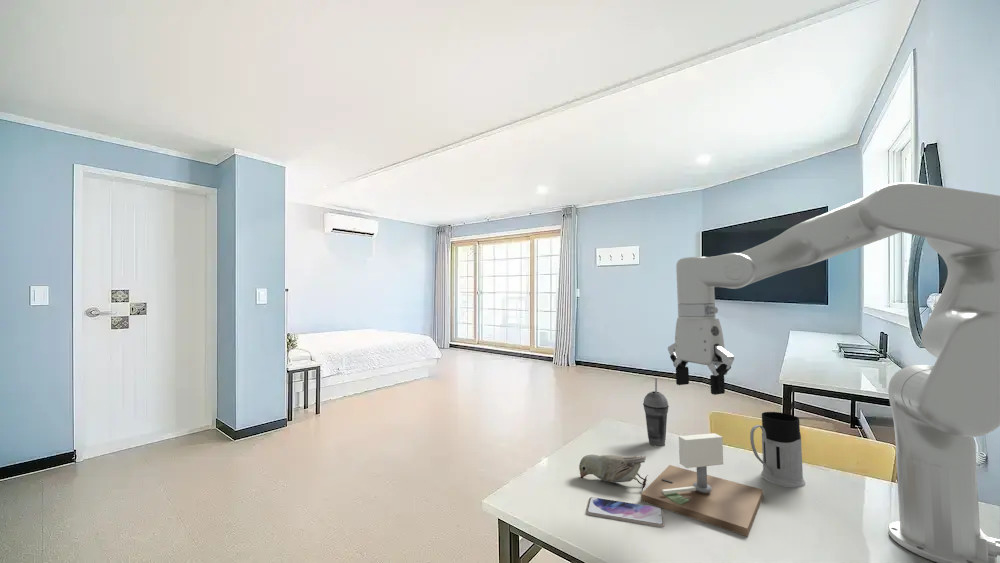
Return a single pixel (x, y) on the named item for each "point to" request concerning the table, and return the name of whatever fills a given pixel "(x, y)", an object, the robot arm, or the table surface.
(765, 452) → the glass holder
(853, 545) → the table surface
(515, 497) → the table surface
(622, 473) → the decorative bird
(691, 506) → the brown wooden flat slab
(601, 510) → the smartphone
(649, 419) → the beverage cup
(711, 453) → the stand
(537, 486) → the table surface
